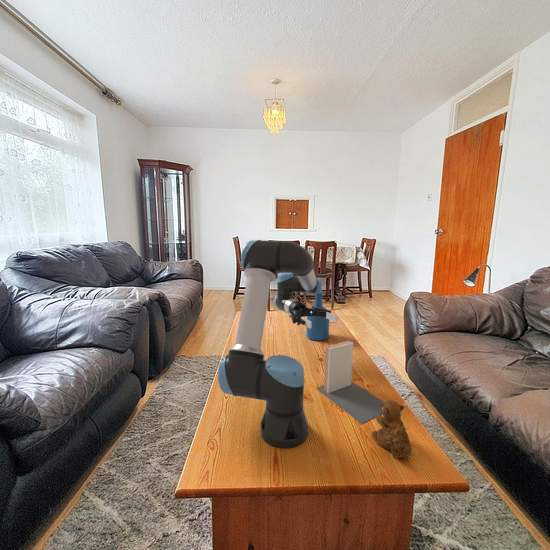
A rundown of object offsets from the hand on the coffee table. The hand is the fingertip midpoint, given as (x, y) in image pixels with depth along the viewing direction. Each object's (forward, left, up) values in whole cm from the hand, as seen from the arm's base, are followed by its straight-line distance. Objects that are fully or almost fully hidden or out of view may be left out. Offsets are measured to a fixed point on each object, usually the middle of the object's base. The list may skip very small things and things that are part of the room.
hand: (324, 322), depth 119 cm
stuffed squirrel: (-26, -32, -25) cm, 48 cm away
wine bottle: (+41, +19, -25) cm, 52 cm away
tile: (-5, -8, -24) cm, 26 cm away
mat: (-9, -15, -25) cm, 30 cm away
